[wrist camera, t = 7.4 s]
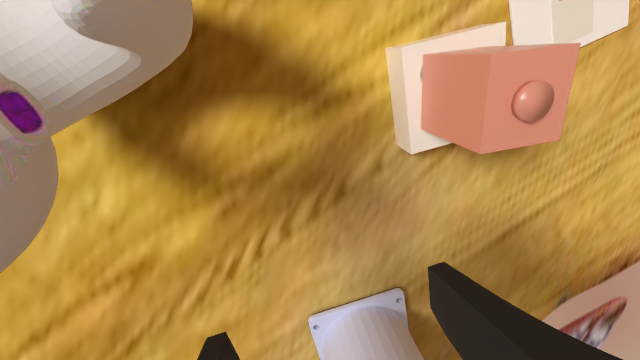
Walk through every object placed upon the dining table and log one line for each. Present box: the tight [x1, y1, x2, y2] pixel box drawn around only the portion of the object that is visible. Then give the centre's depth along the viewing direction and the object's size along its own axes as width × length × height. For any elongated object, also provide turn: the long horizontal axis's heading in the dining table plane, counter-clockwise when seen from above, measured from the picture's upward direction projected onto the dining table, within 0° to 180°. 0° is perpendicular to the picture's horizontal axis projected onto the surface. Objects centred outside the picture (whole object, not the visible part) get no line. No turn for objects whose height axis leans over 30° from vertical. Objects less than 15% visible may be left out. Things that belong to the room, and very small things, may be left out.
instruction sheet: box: [509, 0, 629, 47], centre depth 18 cm, size 6×8×1 cm
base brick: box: [386, 22, 506, 154], centre depth 18 cm, size 6×6×2 cm
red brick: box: [421, 43, 581, 154], centre depth 15 cm, size 4×4×5 cm
